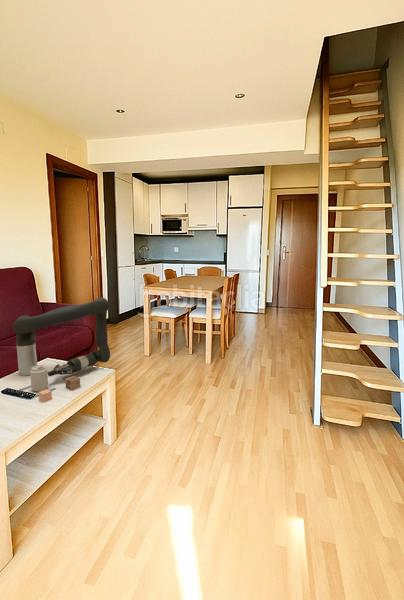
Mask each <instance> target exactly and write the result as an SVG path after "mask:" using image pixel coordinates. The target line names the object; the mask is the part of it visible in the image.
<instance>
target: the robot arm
mask: <svg viewBox="0 0 404 600" xmlns="http://www.w3.org/2000/svg"><path fill="white" fill-rule="evenodd" d="M109 309H110V303H109V301H108V299H106V298H105V297H102V296H101V297H97V298H95V300H92V301H90V302H87V303H83V304H81V303H80V304H71V305H65V306H62V307H58V308H57V307H56V308H54V309H51V310H49V311H47V312H44V313H43V314H42V313H41V314H39V315H35V316H30V315H28V314H27V315H26V314H25V315H20V316H19V317H18V318H17V319H16V320H15V321H14V323H13V330H14V332H15V333H16V341H15V343H16V353H17V367H18V375H19V376H22V377H23V376H24V377H27V376H30V371H31V368H32V367H34V366H37V365H38V359H37V348H36V347H37V346H36V330H39V329H43V328H47V327H51V326H58V325H61V324H65V323H70V322H73V321H76V320H79V319H82V318H85V317H88V316H95V332H94V333H95V334H94V335H95V336H94V337H95V340H94V341H95V346H96V347H97V348H98V349H96V350H94V351H92V352H90V353H88V354H86V355H83V356H82V355H81V356H78V357H75V358H71V359H69V360H67V362H66V363H64V364H62V365H60V363H59V364H58V363H57V364H56V365H55V366H54V367H53V370H50V371H47V376H48V377H54V376H55V375H59V376H63V375H71V374H74V373H77V372H80V371H83V370H84V369H87V368H89V367H92V366H94V365H96V362H99V363H104V364H105V363H108V361H110V359H111V351H110V346H109V344H108V343H109V341H108V325H107V313H108V311H109Z"/></svg>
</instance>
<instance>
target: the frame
mask: <svg viewBox="0 0 404 600" xmlns="http://www.w3.org/2000/svg"><path fill="white" fill-rule="evenodd" d="M30 388H31V384H30V385H28V386H25V387H22V388H20V389H19V388H18V390H19V391H23V392H26V391H25V390H28V389H30ZM56 389H57V388H56V387H53V388H50V389H49V390H50V391H51V392H52V391H55V390H56ZM19 391H18V392H19ZM34 395H35V396H34ZM34 395H33V396H34V397H35V398H37V397H39V394H37V393H36V394H34ZM34 397H32V398H31V399H34Z"/></svg>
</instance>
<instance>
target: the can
mask: <svg viewBox="0 0 404 600" xmlns="http://www.w3.org/2000/svg"><path fill="white" fill-rule="evenodd" d="M29 376H30V385H31V387H30V388H31V391H33V392H35V393H38V392H40V391H43V390H45V389H48V388H49V378H48V377H49V376H48V368H47V367H46V365H44V364H37V366H34V367H32V368H31V371H30V375H29Z"/></svg>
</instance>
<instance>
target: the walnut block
mask: <svg viewBox="0 0 404 600" xmlns="http://www.w3.org/2000/svg"><path fill="white" fill-rule="evenodd" d="M64 384H65V389H66V390H67V389H68V390H70V391H74V390H77V389H79V388H81V378H80V377H79V376H75V375H72V376H70V377H67V378H65V383H64Z"/></svg>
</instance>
